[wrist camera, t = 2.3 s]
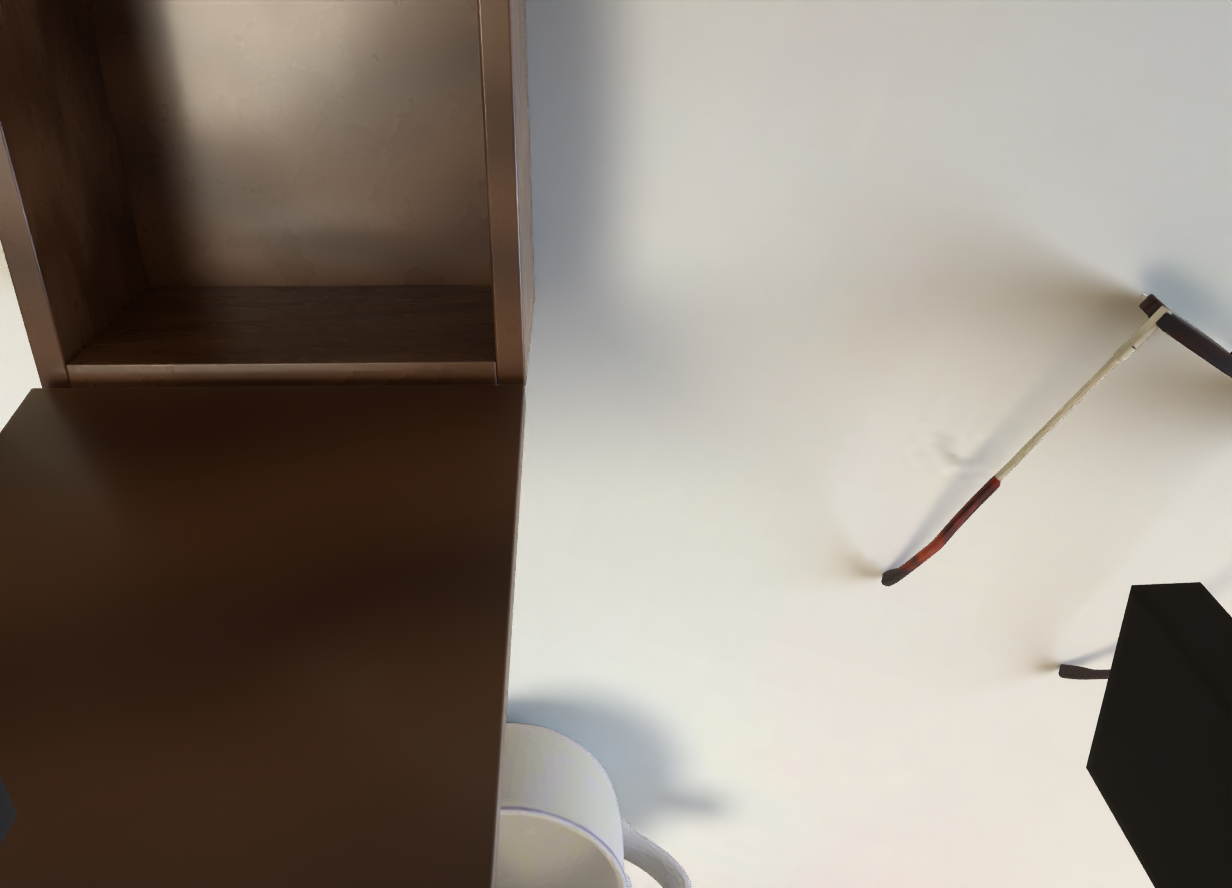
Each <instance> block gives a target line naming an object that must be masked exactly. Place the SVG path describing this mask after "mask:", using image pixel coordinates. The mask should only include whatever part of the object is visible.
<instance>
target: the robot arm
mask: <svg viewBox="0 0 1232 888" xmlns="http://www.w3.org/2000/svg"><path fill="white" fill-rule="evenodd" d="M1086 768H1087V770H1088V771H1089V773H1090V775H1091V777H1092V778H1093V780H1094V782H1095V784H1096V785H1097V787H1098V789H1099V791H1100V792H1101V794H1102V796H1103V798H1104V799H1105V801H1106V803H1107V805H1108V806H1109V808H1110V810H1111V812H1112V813H1113V815H1114V817H1115V819H1116V820H1117V822H1118V824H1119V826H1120V827H1121V829H1122V831H1123V833H1124V834H1125V836H1126V838H1127V840H1128V841H1129V843H1130V845H1131V847H1132V848H1133V850H1134V852H1135V854H1136V855H1137V857H1138V859H1139V861H1140V862H1141V864H1142V866H1143V868H1144V869H1145V871H1146V873H1147V875H1148V876H1149V878H1150V880H1151V882H1152V883H1153V885H1154V887H1155V888H1232V617H1231V616H1230V615H1229V614H1228V613H1227V612H1226V611H1225V609H1224V608H1223V607H1222V606H1221V605H1220V604H1219V603H1218V602H1217V600H1216V599H1215V598H1214V597H1213V596H1212V595H1211V594H1210V593H1209V591H1208V590H1207V589H1206V588H1205V587H1204V586H1203V585H1202V584H1201V582H1196V583H1174V584H1151V585H1132V586H1131V590H1130V594H1129V598H1128V602H1127V606H1126V610H1125V614H1124V618H1123V622H1122V626H1121V630H1120V634H1119V638H1118V642H1117V646H1116V650H1115V654H1114V658H1113V662H1112V666H1111V670H1110V674H1109V678H1108V682H1107V686H1106V690H1105V694H1104V698H1103V702H1102V706H1101V710H1100V714H1099V718H1098V722H1097V726H1096V730H1095V734H1094V738H1093V742H1092V746H1091V750H1090V754H1089V758H1088V762H1087V766H1086ZM17 817H18V815H17V813H16V811H15V808H14V806H13V804H12V801H11V799H10V797H9V794H8V792H7V790H6V787H5V785H4V783H3V781H2V778H1V776H0V844H1V843H2V841H3V840H4V838H5V836H6V835H7V833H8V831H9V830H10V828H11V826H12V825H13V823H14V821H15V820H16V818H17Z"/></svg>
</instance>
